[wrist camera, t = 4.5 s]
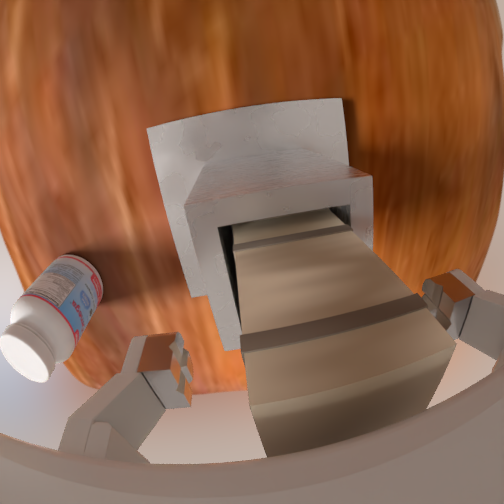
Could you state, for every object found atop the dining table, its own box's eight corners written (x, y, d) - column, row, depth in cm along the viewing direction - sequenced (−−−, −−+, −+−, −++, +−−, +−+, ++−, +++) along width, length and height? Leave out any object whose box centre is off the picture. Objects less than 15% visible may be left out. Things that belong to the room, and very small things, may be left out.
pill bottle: (101, 313, 26) (61, 400, 16) (51, 292, 24) (0, 367, 14) (109, 264, 23) (55, 351, 13) (54, 242, 22) (-15, 313, 12)
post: (238, 236, 21) (270, 477, 6) (227, 180, 19) (242, 403, 4) (294, 225, 21) (411, 436, 6) (287, 170, 19) (461, 338, 4)
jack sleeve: (193, 288, 25) (178, 399, 14) (151, 128, 19) (73, 138, 8) (345, 259, 25) (412, 349, 14) (334, 99, 19) (434, 89, 8)
